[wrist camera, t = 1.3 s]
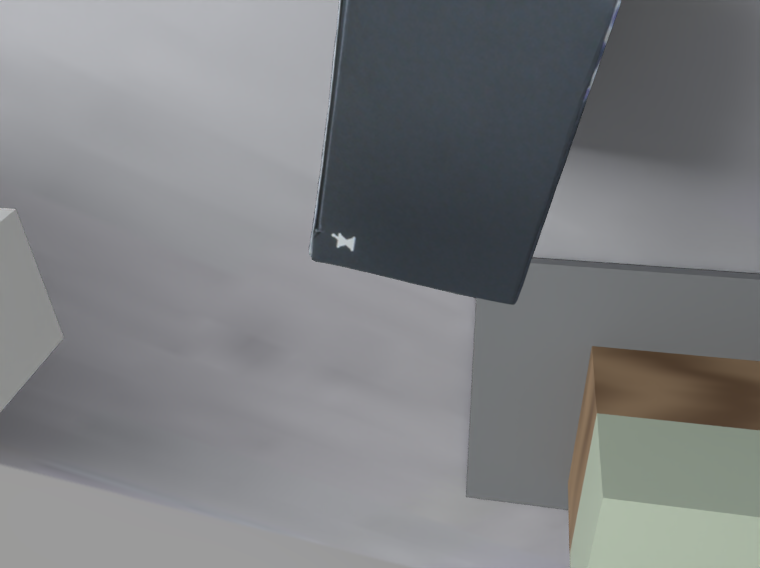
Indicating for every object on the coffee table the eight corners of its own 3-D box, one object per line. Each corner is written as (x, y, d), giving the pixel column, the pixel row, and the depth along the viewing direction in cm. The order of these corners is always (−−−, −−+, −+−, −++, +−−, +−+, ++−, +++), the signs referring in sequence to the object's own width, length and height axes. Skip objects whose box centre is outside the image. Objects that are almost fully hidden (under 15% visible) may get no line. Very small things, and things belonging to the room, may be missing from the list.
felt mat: (466, 490, 39) (465, 496, 38) (478, 254, 30) (478, 259, 30) (770, 529, 36) (772, 536, 36) (880, 282, 27) (884, 289, 27)
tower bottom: (567, 484, 36) (569, 554, 33) (591, 345, 31) (596, 413, 28) (761, 507, 35) (782, 583, 32) (820, 366, 30) (853, 440, 26)
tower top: (569, 554, 33) (571, 638, 30) (596, 413, 28) (602, 497, 25) (782, 583, 32) (809, 676, 28) (853, 440, 26) (895, 534, 23)
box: (526, 139, 27) (515, 315, 18) (376, 104, 27) (299, 262, 19) (598, -95, 22) (630, -3, 14) (416, -134, 22) (336, -68, 14)
